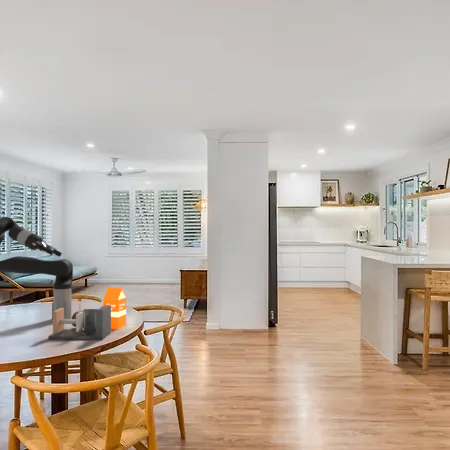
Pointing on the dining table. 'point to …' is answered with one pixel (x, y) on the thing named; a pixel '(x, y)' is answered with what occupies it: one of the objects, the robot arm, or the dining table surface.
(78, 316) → the pointer
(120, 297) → the orange juice
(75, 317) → the tin
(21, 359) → the dining table surface
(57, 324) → the plunger
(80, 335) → the grey l-shaped bracket
